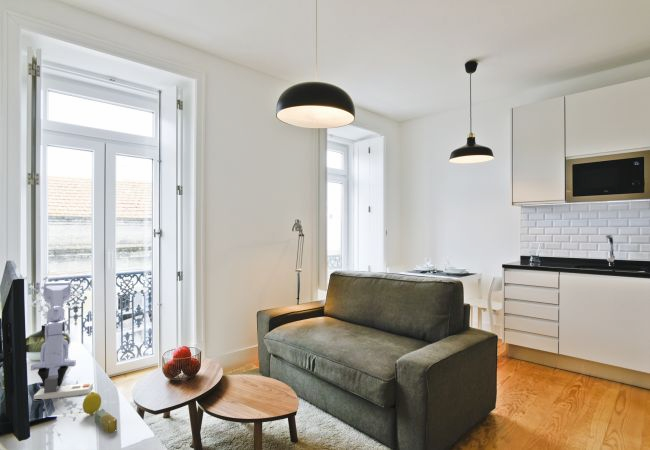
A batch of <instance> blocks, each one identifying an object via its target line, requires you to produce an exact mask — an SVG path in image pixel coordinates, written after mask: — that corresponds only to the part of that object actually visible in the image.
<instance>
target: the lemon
mask: <svg viewBox="0 0 650 450" xmlns="http://www.w3.org/2000/svg"><path fill="white" fill-rule="evenodd" d="M101 404H102V398H101V395H100V394H99V393H97V392H95V391H92V392H91V391H90V392H89V393H88V394H86V395H85V397H84V399H83V402H82V410H83V412H84V413H86V415H91V416H93V415H95V411H97V410H100V409H101Z"/></svg>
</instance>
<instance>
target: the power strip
mask: <svg viewBox="0 0 650 450" xmlns="http://www.w3.org/2000/svg"><path fill="white" fill-rule="evenodd" d="M93 385H94V382H87V383H77V384H70V385H61V387H60V388H59V389H58V390H57V391H56V392H49V393H44V387H42V388H40V389H39V390H38V391H37V392H36V393H35V394H34V395H33V400H34V399H42V400H47V399H48V400H49V399H57V398H64V397H73V396H79V395H80V396H81V395H88V394H90V393H91V390H92V389H93V387H94V386H93Z"/></svg>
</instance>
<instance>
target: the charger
mask: <svg viewBox="0 0 650 450" xmlns="http://www.w3.org/2000/svg"><path fill="white" fill-rule="evenodd" d="M61 386H62V385H61ZM61 386H58V375H52V376H49V377H48V378H46V379H45V384H44V385H43V388H44V393H49V392H56V391H57V390H58V389H59V388H60V387H61Z"/></svg>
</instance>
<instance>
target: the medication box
mask: <svg viewBox="0 0 650 450" xmlns="http://www.w3.org/2000/svg"><path fill="white" fill-rule="evenodd" d="M117 420H118V419H117V418H115V417H114V416H113V415H111V414H110V413H109V412H107V411H106V410H105V409H103V408H99V409H98V410H97V411H95V413H94V423H95V424H97V425H98V427H100V428H101V429H102V430H103V431H105V432H106V433H107V434H112V433H114V431H115V430H117V431H118V423H117V422H118V421H117ZM115 432H116V431H115Z"/></svg>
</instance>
